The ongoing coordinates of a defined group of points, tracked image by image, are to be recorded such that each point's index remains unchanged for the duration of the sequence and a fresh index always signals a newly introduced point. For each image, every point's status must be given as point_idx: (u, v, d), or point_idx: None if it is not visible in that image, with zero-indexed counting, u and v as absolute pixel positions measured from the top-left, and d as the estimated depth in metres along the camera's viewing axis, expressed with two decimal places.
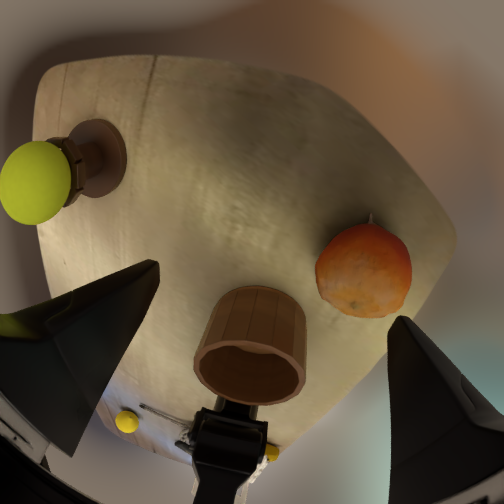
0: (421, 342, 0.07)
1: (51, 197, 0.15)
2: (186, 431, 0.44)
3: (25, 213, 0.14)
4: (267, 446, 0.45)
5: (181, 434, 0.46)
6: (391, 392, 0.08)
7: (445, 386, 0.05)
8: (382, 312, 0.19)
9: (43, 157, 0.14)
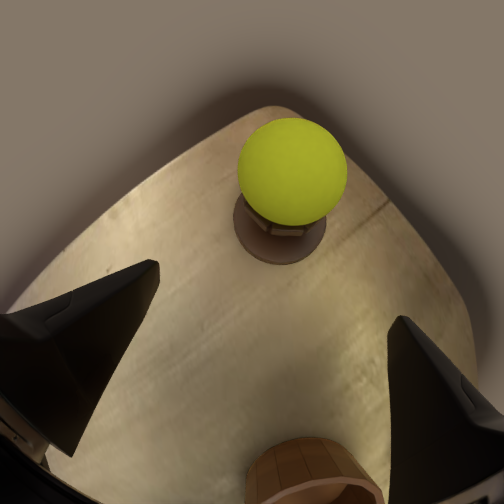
0: (421, 342, 0.07)
1: (327, 207, 0.15)
2: None
3: (304, 182, 0.13)
4: None
5: None
6: (391, 392, 0.08)
7: (445, 386, 0.05)
8: None
9: None
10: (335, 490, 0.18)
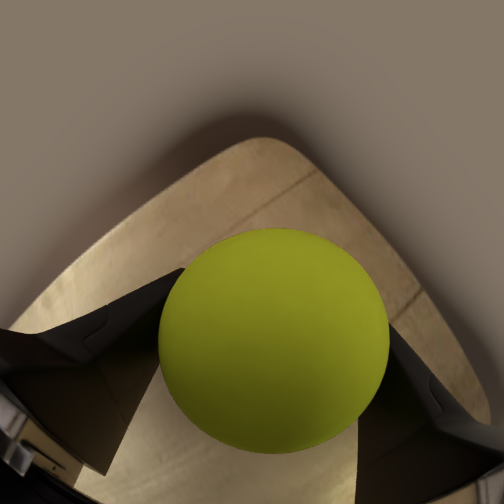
0: None
1: None
2: None
3: (288, 442, 0.05)
4: None
5: None
6: None
7: (409, 385, 0.05)
8: None
9: None
10: None
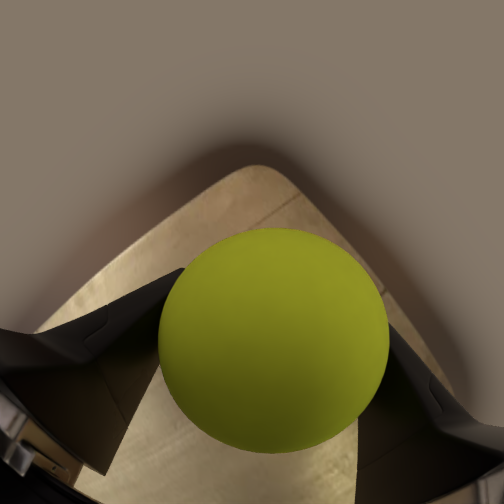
0: None
1: None
2: None
3: (288, 441, 0.05)
4: None
5: None
6: None
7: (409, 385, 0.05)
8: None
9: None
10: None
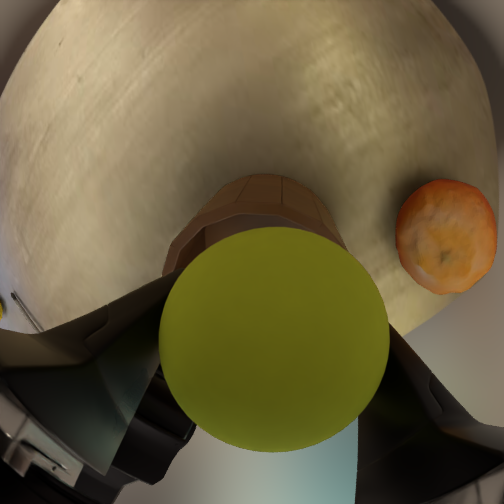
0: None
1: None
2: None
3: (288, 440, 0.05)
4: None
5: None
6: None
7: (409, 385, 0.05)
8: (461, 281, 0.14)
9: None
10: None
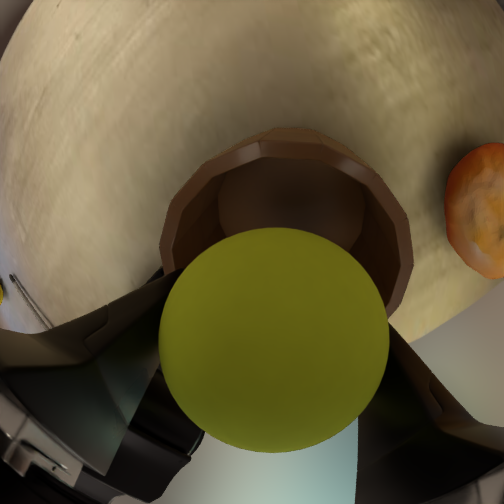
0: None
1: None
2: None
3: (287, 441, 0.05)
4: None
5: None
6: None
7: (409, 386, 0.05)
8: None
9: None
10: (342, 239, 0.17)
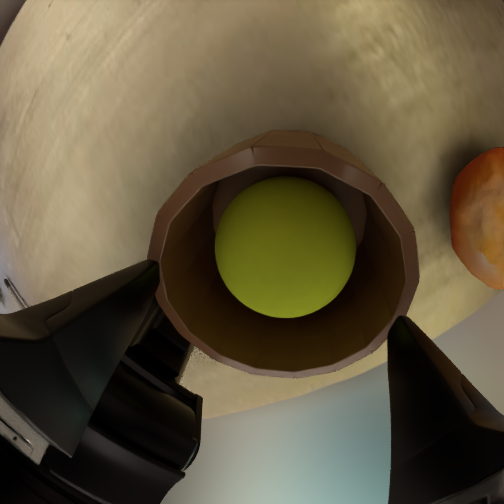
0: (421, 342, 0.07)
1: (328, 302, 0.12)
2: None
3: (298, 283, 0.10)
4: None
5: None
6: (391, 391, 0.08)
7: (445, 386, 0.05)
8: None
9: None
10: None
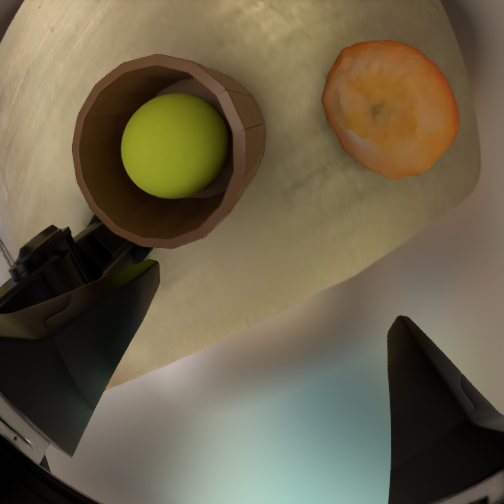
0: (421, 342, 0.07)
1: (195, 174, 0.14)
2: None
3: (160, 149, 0.12)
4: None
5: None
6: (391, 392, 0.08)
7: (445, 386, 0.05)
8: (411, 146, 0.11)
9: (226, 138, 0.15)
10: None
